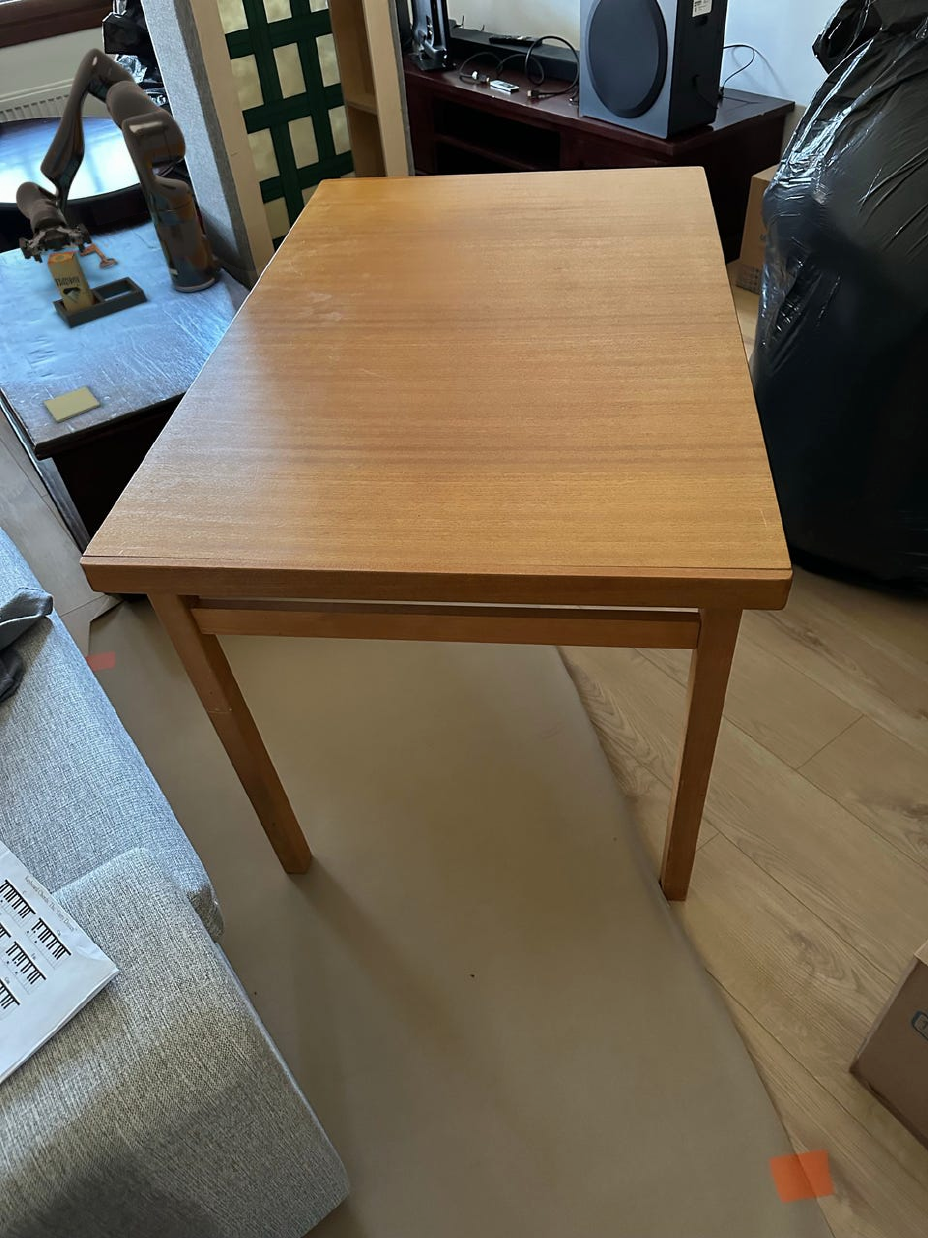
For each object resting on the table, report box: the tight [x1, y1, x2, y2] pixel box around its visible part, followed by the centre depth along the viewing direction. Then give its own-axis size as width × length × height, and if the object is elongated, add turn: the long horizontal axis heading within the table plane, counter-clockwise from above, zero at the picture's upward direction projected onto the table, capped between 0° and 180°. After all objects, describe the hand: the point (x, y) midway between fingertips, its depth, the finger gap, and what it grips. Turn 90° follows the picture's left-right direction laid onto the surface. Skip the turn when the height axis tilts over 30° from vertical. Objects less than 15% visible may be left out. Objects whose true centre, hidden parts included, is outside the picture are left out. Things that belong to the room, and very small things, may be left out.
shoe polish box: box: [46, 250, 96, 313], centre depth 175 cm, size 5×5×12 cm
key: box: [77, 242, 116, 268], centre depth 199 cm, size 6×1×15 cm
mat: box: [43, 386, 101, 423], centre depth 154 cm, size 8×8×1 cm
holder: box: [52, 276, 147, 329], centre depth 180 cm, size 17×9×2 cm, turn 126°
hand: (59, 253), depth 178 cm, fingers open, 8 cm apart
